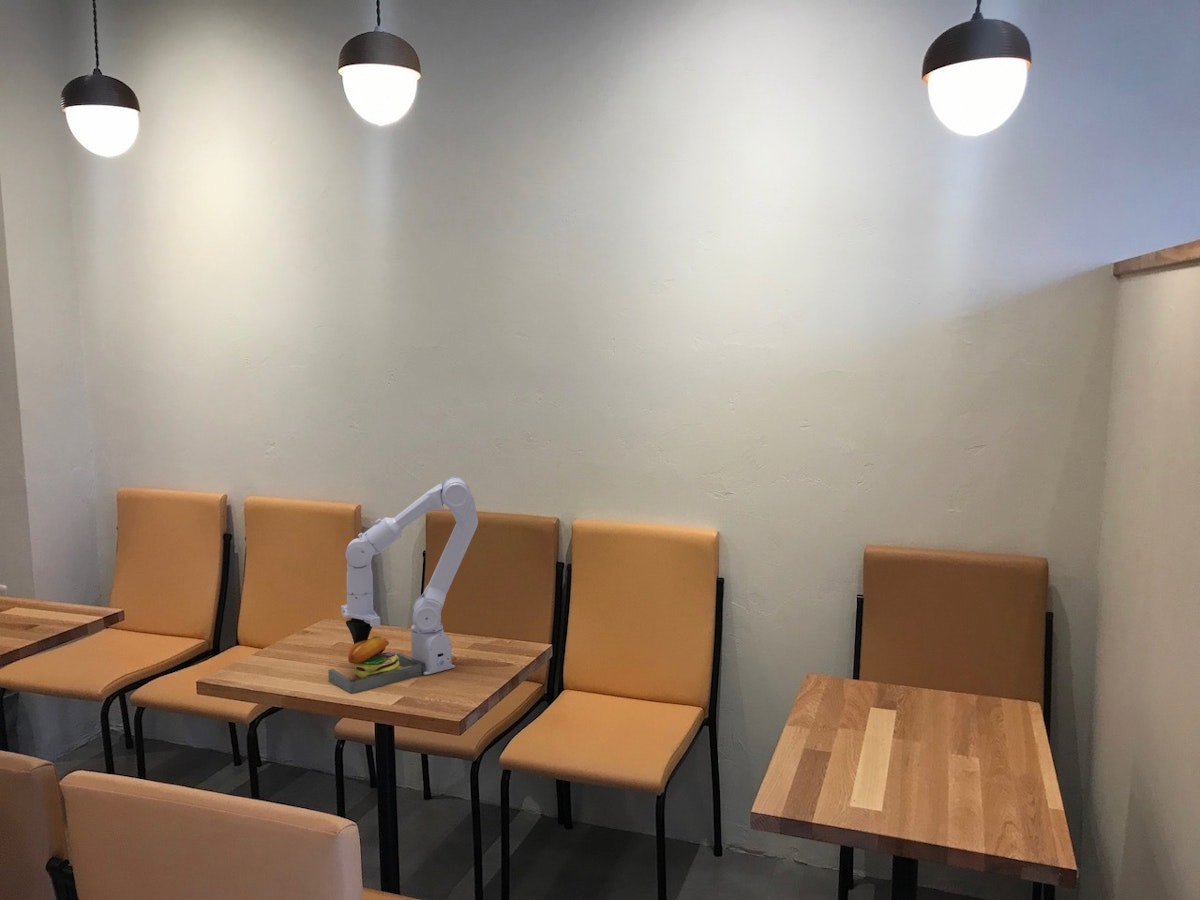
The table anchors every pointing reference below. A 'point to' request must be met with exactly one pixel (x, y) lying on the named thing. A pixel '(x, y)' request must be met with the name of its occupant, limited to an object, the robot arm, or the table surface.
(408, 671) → the grey low angled fixture
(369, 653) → the cheeseburger
